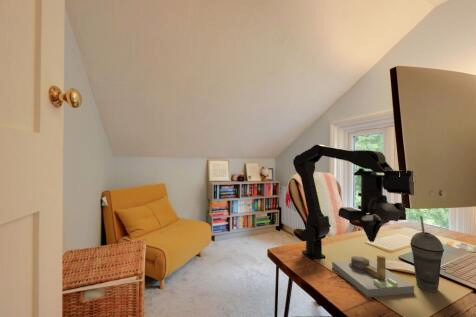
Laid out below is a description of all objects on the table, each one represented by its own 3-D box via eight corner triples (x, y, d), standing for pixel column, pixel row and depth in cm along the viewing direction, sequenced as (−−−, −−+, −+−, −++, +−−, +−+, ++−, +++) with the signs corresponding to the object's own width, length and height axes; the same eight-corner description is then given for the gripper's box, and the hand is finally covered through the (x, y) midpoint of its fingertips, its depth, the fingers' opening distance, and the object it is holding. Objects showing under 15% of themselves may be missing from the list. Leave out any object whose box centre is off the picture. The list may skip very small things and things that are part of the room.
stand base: (332, 267, 71) (332, 258, 71) (369, 265, 72) (369, 256, 73) (368, 297, 55) (368, 285, 55) (414, 293, 57) (414, 282, 57)
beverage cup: (432, 297, 55) (431, 221, 56) (404, 282, 62) (403, 215, 63) (451, 292, 57) (450, 219, 58) (421, 278, 64) (420, 213, 65)
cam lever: (347, 263, 68) (347, 245, 68) (359, 261, 70) (359, 243, 70) (378, 281, 58) (378, 259, 58) (391, 278, 60) (390, 257, 60)
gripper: (362, 195, 55) (362, 254, 55) (424, 195, 57) (424, 251, 57) (337, 189, 66) (337, 238, 66) (390, 189, 68) (390, 237, 68)
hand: (371, 241), depth 64 cm, fingers closed
